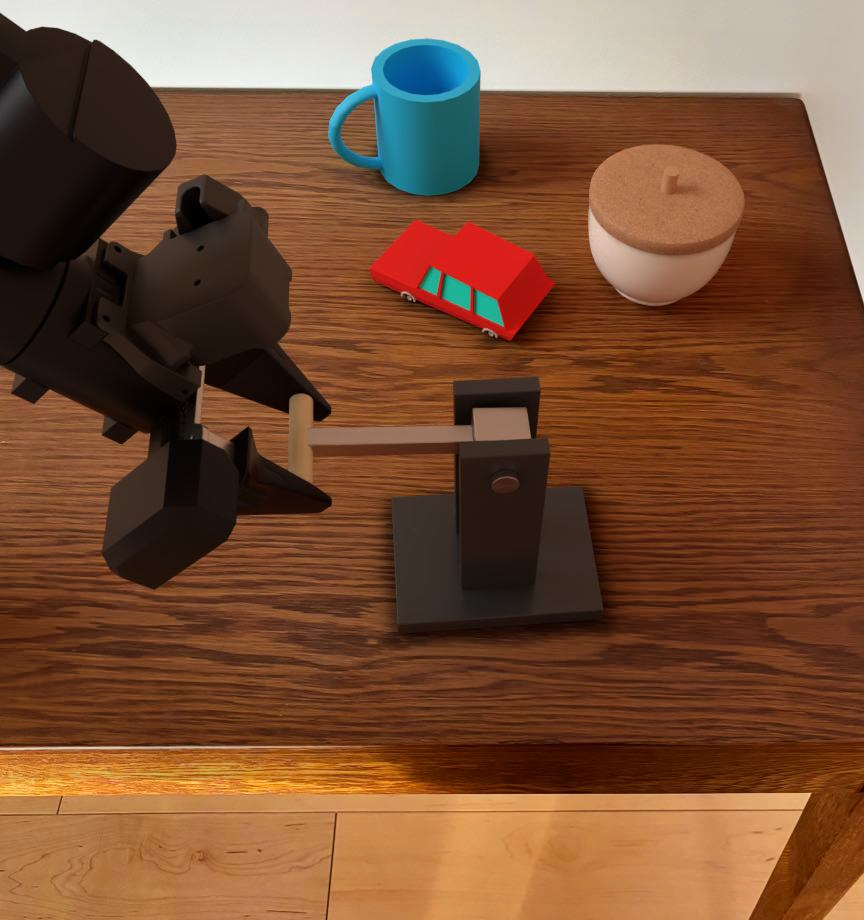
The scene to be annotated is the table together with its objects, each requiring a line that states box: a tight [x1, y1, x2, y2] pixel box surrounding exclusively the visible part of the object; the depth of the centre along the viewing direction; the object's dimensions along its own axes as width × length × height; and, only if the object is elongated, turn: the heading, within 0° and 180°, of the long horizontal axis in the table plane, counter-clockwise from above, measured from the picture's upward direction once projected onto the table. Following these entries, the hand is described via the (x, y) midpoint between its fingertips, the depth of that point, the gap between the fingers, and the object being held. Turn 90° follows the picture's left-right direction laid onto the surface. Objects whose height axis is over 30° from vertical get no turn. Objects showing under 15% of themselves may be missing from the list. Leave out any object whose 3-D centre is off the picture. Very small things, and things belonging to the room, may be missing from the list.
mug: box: [327, 37, 481, 197], centre depth 79 cm, size 12×8×8 cm
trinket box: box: [587, 143, 746, 307], centre depth 72 cm, size 11×11×9 cm
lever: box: [287, 394, 531, 485], centre depth 51 cm, size 12×6×2 cm, turn 96°
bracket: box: [390, 376, 604, 635], centre depth 56 cm, size 12×9×14 cm
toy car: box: [369, 219, 556, 342], centre depth 73 cm, size 6×12×4 cm, turn 60°
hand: (326, 459), depth 52 cm, fingers closed on lever, 5 cm apart
